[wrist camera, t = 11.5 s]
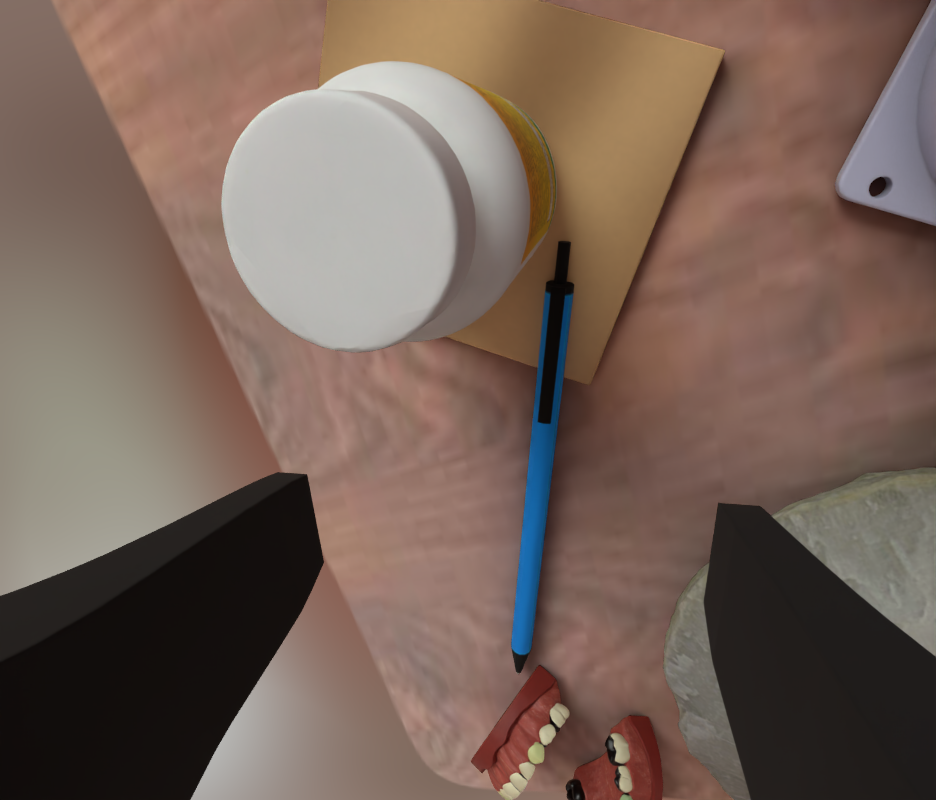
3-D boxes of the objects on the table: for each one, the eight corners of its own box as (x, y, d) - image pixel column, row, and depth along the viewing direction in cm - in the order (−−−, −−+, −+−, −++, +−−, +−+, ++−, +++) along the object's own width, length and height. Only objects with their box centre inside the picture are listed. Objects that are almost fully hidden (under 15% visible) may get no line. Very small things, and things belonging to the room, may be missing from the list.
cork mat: (723, 52, 15) (726, 50, 14) (590, 381, 19) (589, 386, 19) (339, -52, 16) (333, -56, 15) (301, 284, 20) (295, 287, 20)
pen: (580, 240, 17) (578, 246, 16) (529, 667, 25) (525, 688, 24) (551, 238, 17) (547, 244, 16) (510, 663, 26) (505, 684, 25)
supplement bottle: (497, 308, 18) (396, 449, 10) (363, 215, 18) (145, 281, 10) (598, 158, 16) (576, 180, 8) (443, 49, 16) (241, -56, 7)
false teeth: (618, 886, 24) (450, 801, 24) (617, 788, 28) (471, 716, 28) (687, 823, 21) (500, 729, 22) (675, 725, 25) (515, 646, 26)
